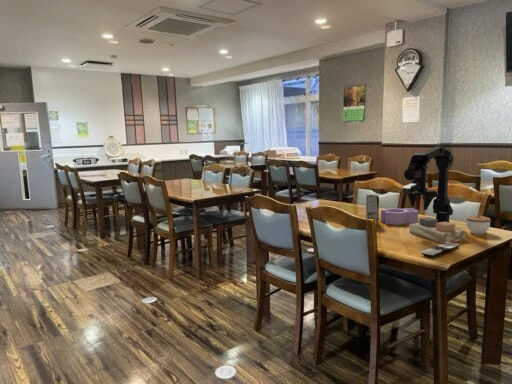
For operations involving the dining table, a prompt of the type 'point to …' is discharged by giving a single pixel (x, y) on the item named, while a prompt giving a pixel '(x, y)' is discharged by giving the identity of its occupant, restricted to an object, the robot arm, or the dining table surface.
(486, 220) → the lidded jar
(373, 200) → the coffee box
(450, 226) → the terracotta button
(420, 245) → the dining table surface
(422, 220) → the charcoal button
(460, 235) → the button console
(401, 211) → the mauve piece
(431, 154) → the robot arm
